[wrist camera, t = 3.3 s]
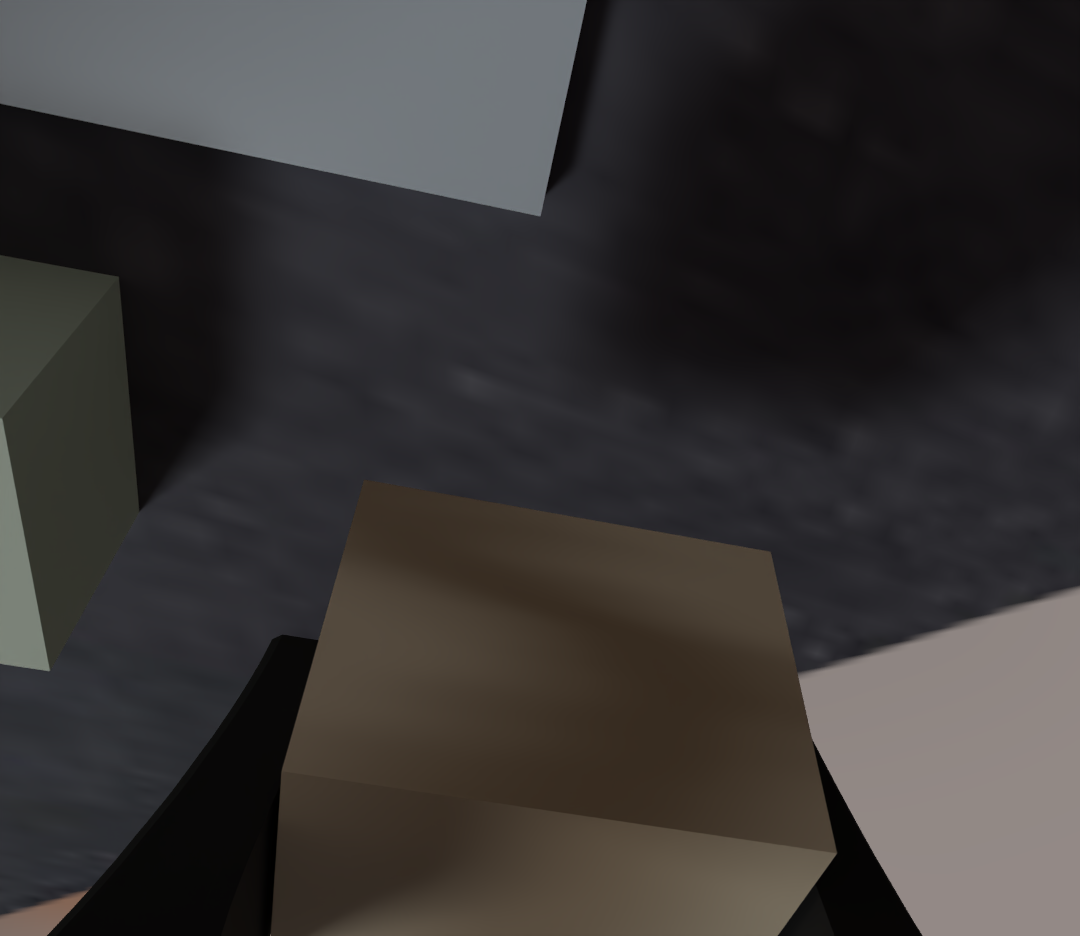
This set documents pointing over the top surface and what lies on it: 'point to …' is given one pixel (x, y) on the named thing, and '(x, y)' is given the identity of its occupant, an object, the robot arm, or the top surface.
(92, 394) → the sage block
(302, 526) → the top surface
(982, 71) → the top surface
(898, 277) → the top surface
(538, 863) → the beech block
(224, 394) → the top surface
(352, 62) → the baseplate
